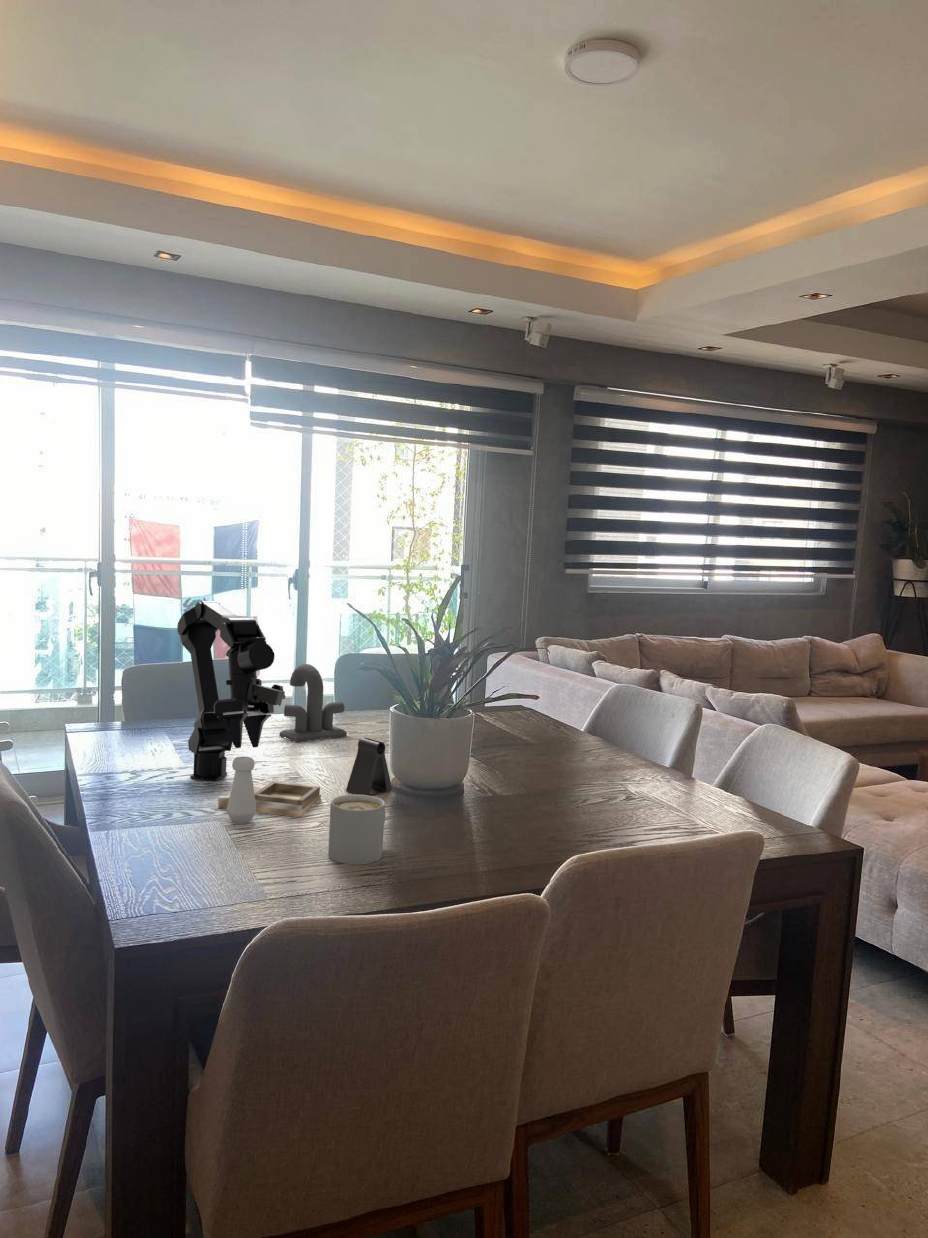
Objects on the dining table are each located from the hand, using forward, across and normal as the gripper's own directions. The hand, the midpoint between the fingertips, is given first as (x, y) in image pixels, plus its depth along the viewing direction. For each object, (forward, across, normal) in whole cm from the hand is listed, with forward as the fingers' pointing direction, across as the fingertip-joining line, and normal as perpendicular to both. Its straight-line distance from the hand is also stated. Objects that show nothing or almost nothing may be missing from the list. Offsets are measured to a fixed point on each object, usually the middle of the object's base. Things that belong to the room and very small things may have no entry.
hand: (247, 747), depth 200 cm
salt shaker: (+15, -9, -2) cm, 18 cm away
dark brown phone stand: (+12, +20, -20) cm, 31 cm away
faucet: (-4, +68, +10) cm, 69 cm away
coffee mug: (+22, -18, -29) cm, 41 cm away
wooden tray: (+12, +3, -3) cm, 13 cm away
